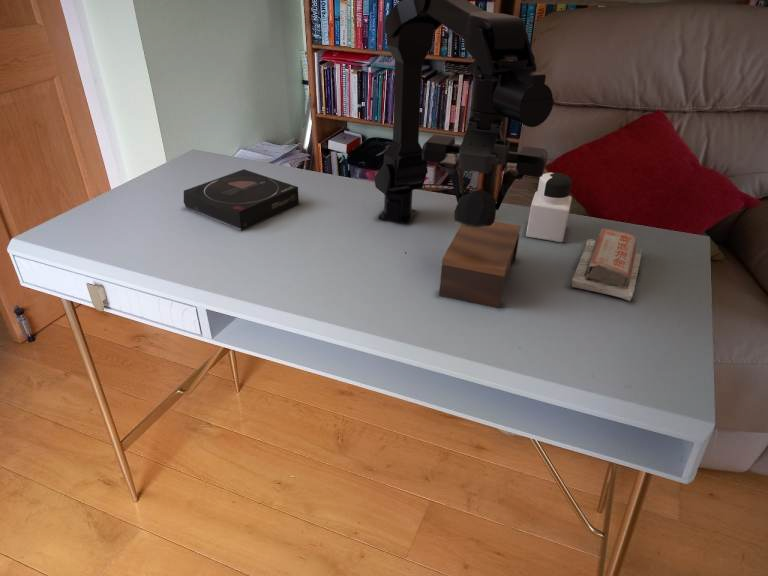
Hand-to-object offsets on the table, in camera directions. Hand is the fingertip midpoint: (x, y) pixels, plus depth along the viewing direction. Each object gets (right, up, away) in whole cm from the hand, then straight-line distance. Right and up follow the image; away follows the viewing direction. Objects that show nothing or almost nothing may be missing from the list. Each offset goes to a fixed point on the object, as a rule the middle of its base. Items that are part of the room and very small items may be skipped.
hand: (478, 206), depth 96 cm
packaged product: (+24, -11, +9) cm, 28 cm away
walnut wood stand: (+1, -11, +6) cm, 13 cm away
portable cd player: (-45, +4, +29) cm, 54 cm away
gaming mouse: (0, -1, +1) cm, 1 cm away
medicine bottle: (+17, -2, +22) cm, 28 cm away
